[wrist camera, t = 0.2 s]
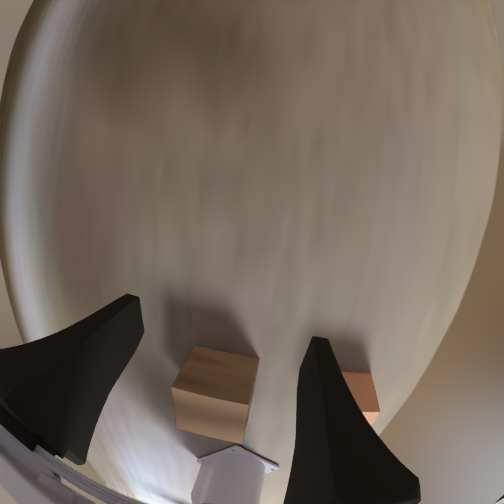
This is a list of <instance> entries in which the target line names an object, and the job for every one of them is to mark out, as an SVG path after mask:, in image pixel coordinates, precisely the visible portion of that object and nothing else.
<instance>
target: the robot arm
mask: <svg viewBox="0 0 504 504" xmlns="http://www.w3.org/2000/svg"><path fill="white" fill-rule="evenodd" d="M143 334H144V326H143V320H142V313H141V306H140V299H139V297H137V296H134V295H130V294H126V295H124V296H122V297H120V298H118V299H117V300H115V301H113V302H112V303H110V304H108V305H107V306H105V307H103V308H102V309H100V310H98V311H97V312H95V313H93V314H91V315H90V316H88V317H86V318H84V319H83V320H81V321H79V322H77V323H75V324H73V325H71V326H70V327H68V328H66V329H63V330H61V331H59V332H57V333H54V334H52V335H50V336H47V337H45V338H42V339H39V340H36V341H33V342H30V343H26V344H23V345H19V346H14V347H11V348H4V349H0V485H1V486H2V487H3V489H4V490H5V491H6V492H7V493H8V494H9V495H10V496H11V497H12V498H13V499H14V501H15V502H17V504H96V503H95V502H93V501H91V500H90V499H88V498H86V497H85V496H83V495H81V494H80V493H78V492H76V491H74V490H72V489H71V488H69V487H67V486H66V485H64V484H63V483H62V482H61V478H60V476H61V477H62V478H64V479H65V480H67V481H68V482H70V483H72V484H73V485H75V486H77V487H78V488H80V489H82V490H83V491H85V492H87V493H89V494H90V495H92V496H94V497H96V498H98V499H100V500H102V501H103V502H105V503H107V504H143V503H140V502H138V501H135V500H133V499H130V498H128V497H126V496H124V495H121V494H119V493H117V492H115V491H113V490H111V489H109V488H107V487H105V486H103V485H101V484H99V483H97V482H95V481H93V480H92V479H90V478H88V477H86V476H84V475H82V474H81V473H79V472H78V471H76V470H74V469H73V468H71V467H69V466H68V465H66V464H65V463H63V462H62V461H60V460H58V459H57V458H55V455H58V456H59V457H61V458H64V457H65V458H67V459H69V460H70V461H72V462H73V463H75V464H77V465H83V464H85V462H86V457H87V453H88V449H89V445H90V442H91V439H92V436H93V432H94V429H95V426H96V424H97V421H98V419H99V416H100V413H101V411H102V409H103V406H104V404H105V402H106V400H107V397H108V395H109V393H110V391H111V390H112V388H113V386H114V384H115V383H116V381H117V380H118V378H119V376H120V375H121V373H122V372H123V370H124V368H125V367H126V365H127V364H128V362H129V361H130V359H131V357H132V356H133V354H134V353H135V351H136V349H137V347H138V345H139V343H140V340H141V338H142V336H143ZM197 462H198V463H200V464H201V467H200V470H199V473H198V476H197V479H196V481H195V484H194V487H193V490H192V493H191V499H192V503H193V504H259V502H260V497H261V492H262V486H263V481H264V475H265V474H266V473H269V472H272V471H275V470H278V469H279V466H278V465H276V464H273V463H271V462H269V461H267V460H265V459H263V458H261V457H259V456H257V455H255V454H253V453H251V452H249V451H247V450H245V449H243V448H241V447H240V446H237V445H235V446H232V447H230V448H227V449H224V450H222V451H219V452H216V453H213V454H211V455H208V456H205V457H202V458H199V459H197ZM420 501H421V495H420V484H419V478H418V477H416V476H415V475H414V474H413V473H412V472H411V471H410V470H409V469H408V468H406V467H405V466H404V465H403V464H402V463H401V462H400V461H399V460H398V459H397V458H396V457H395V456H394V454H393V453H392V452H391V451H390V450H389V449H388V448H387V446H386V445H385V444H384V443H383V441H382V440H381V439H380V438H379V436H378V435H377V434H376V432H375V431H374V430H373V428H372V427H371V425H370V424H369V422H368V421H367V419H366V418H365V416H364V415H363V413H362V411H361V410H360V408H359V406H358V404H357V403H356V401H355V399H354V397H353V395H352V393H351V391H350V389H349V387H348V385H347V383H346V381H345V379H344V376H343V374H342V372H341V370H340V367H339V365H338V363H337V360H336V358H335V355H334V353H333V350H332V347H331V345H330V342H329V340H328V339H327V338H321V337H314V336H312V339H311V342H310V344H309V347H308V349H307V352H306V354H305V357H304V359H303V362H302V364H301V367H300V371H299V378H298V386H297V411H296V440H295V449H294V455H293V461H292V467H291V472H290V477H289V482H288V487H287V491H286V495H285V499H284V503H283V504H418V503H419V502H420Z"/></svg>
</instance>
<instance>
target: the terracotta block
mask: <svg viewBox="0 0 504 504" xmlns="http://www.w3.org/2000/svg"><path fill="white" fill-rule="evenodd" d="M341 372H342V374H343V376H344V379H345V381H346V383H347V385H348V387H349V389H350V391H351V393H352V395H353V397H354V399H355V401H356V403H357V404H358V406H359V408H360V410H361V411H362V413H363V415H364V416H365V418H366V419H367V421H368V422H369V424H370V425H372V424H373V422H374V421H375V420H376V418H377V416H378V415H379V413H380V408H379V404H378V400H377V395H376V391H375V387H374V383H373V379H372V375H371V374H368V373H354V372H343V371H341Z"/></svg>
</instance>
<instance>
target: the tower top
mask: <svg viewBox="0 0 504 504" xmlns="http://www.w3.org/2000/svg"><path fill="white" fill-rule="evenodd" d="M254 381H255V379H254V378H248V377H243V376H237V375H232V374H228V373H223V372H218V371H214V370H209V369H205V368H201V367H196V366H192V365H188V364H184V365H183V367H182V369H181V370H180V372H179V374H178V376H177V378H176V379H175V381H174V383H173V385H172V387H171V388H172V396H173V404H174V411H175V418H176V425H177V428H178V429H181V430H185V431H188V432H192V433H196V434H199V435H203V436H207V437H211V438H216V439H220V440H225V441H229V442H234V443H239V444H242V443H243V438H244V434H245V430H246V426H247V421H248V416H249V410H250V405H251V399H252V393H253V387H254Z"/></svg>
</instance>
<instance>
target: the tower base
mask: <svg viewBox="0 0 504 504" xmlns="http://www.w3.org/2000/svg"><path fill="white" fill-rule="evenodd" d="M185 364H188V365H192V366H196V367H201V368H205V369H209V370H214V371H218V372H223V373H228V374H232V375H237V376H243V377H248V378H254V379H255V381H256V375H257V370H258V365H259V358H253V357H248V356H243V355H238V354H233V353H228V352H224V351H219V350H214V349H210V348H206V347H201V346H197V345H195V346H194V347H193V349H192V351H191V353H190V355H189V357H188V358H187V360H186V362H185ZM255 381H254V386H255ZM253 391H254V387H253ZM252 397H253V393H252ZM251 402H252V399H251ZM250 406H251V405H250Z"/></svg>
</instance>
